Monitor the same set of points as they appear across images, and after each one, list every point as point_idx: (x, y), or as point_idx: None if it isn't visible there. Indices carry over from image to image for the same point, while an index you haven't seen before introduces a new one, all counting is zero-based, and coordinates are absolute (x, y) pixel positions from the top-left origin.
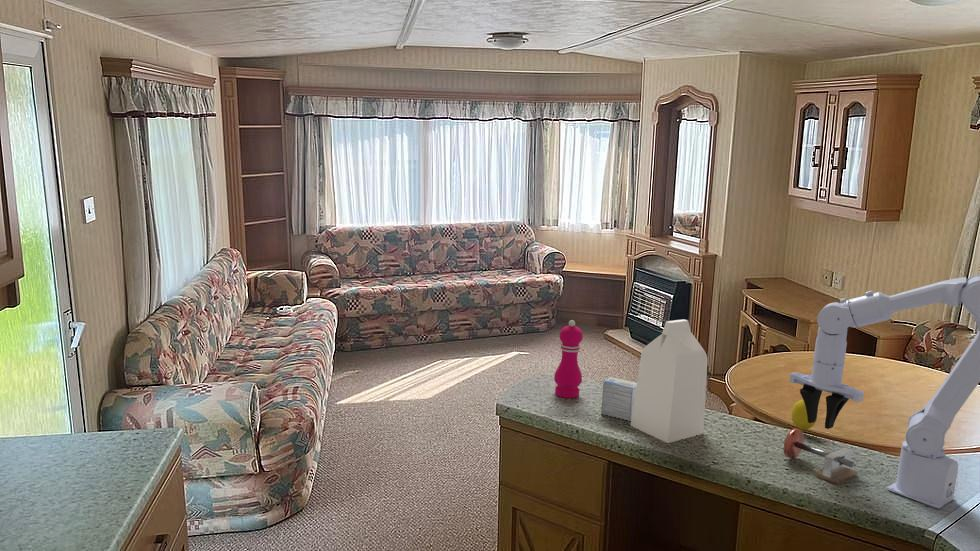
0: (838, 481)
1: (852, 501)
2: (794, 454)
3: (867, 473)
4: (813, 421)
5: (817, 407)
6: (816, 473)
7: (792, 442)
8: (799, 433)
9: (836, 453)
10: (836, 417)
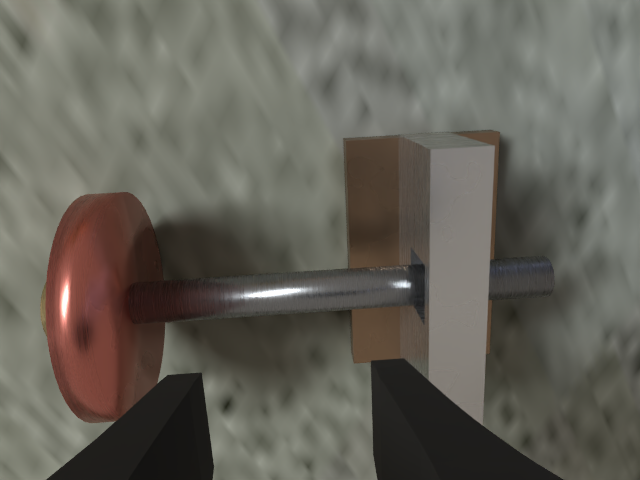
0: (487, 353)
1: (598, 437)
2: (155, 280)
3: (516, 33)
4: (206, 425)
5: (142, 474)
6: (364, 359)
7: (136, 370)
8: (103, 310)
9: (453, 326)
10: (462, 412)
